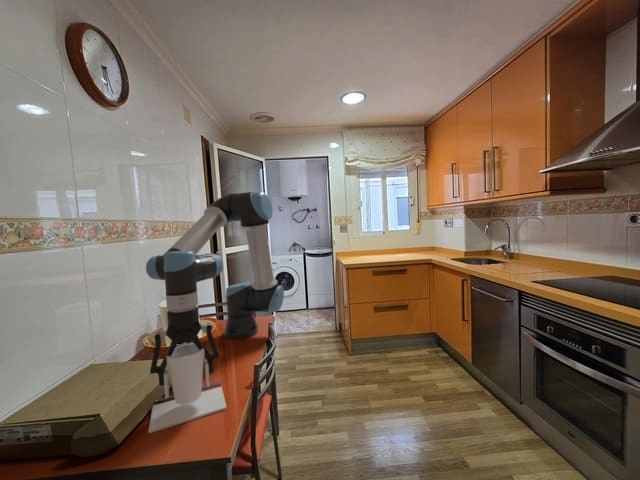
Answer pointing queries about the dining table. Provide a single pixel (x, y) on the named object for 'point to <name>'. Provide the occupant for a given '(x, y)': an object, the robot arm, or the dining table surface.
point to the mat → (186, 410)
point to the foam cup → (186, 372)
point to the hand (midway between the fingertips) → (188, 389)
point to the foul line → (202, 389)
